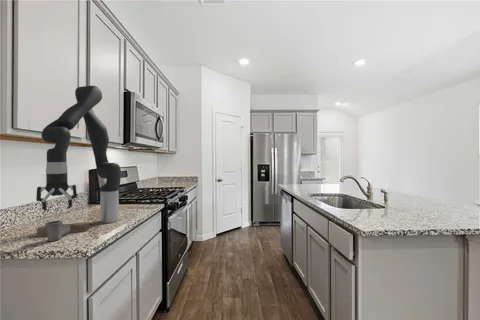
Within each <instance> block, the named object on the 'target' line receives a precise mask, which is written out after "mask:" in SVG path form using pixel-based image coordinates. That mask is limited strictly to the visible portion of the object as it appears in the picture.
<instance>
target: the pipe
mask: <svg viewBox="0 0 480 320" xmlns="http://www.w3.org/2000/svg"><path fill="white" fill-rule="evenodd" d="M62 225H63V220H53V221H48V222H45V223H44V226H46V229H47V235H48V236H47V240H48V242H55V241H59V240H60V239H62V237H64V236H65V235H67V234H70V233H69V232H70V226H68V225H66V226H64V227H62Z"/></svg>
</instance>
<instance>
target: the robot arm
mask: <svg viewBox="0 0 480 320" xmlns="http://www.w3.org/2000/svg"><path fill="white" fill-rule="evenodd" d="M74 93H75V99H76V102H77V103H75V104H73V105H71V106H70V107H68V108H67V109H65V111H64V112H62V113H61V115H59V117H58V118H57V119H54V120H53V121H51V123H48V125H46V126H45V127H44V128H43V129H42V131H41V138H42V140H43V141H44V142H45V143H49V144H55V145H54V147H52V148H49V149H47V150H46V164H45V165H46V167H45V175H46V176H45V178H46V185H45V186H38V187H36V201H37V202H40V203H41V209H42V210H43V211H44V212H45V211H48V201H47V200H48V198H49V197H51V196H52V197H56V196H65V197H66V198H67V199H68V200H67V201H68V203H67V204H68V206H67V207H68V209H71V207H73V200H74V199H76V198H78V193H77V185H76V184H72V185H71V184H70V185H69V184H68V183H69V182H68V181H69V180H68V164H67V152H68V149H69V145H70V142H71V132H70V131H72V130H73V129H74V128H75V127H76V126H77V124H78V123H79V122H80V121H81V119H82V118H83V120H84V124H85V127H86V131H87V134H88V138H89V141H90V144H91V148H92V152H93V156H94V162H95V166H96V167H95V168H96V172H97V175H98V177H99V178H101V179H104V180H105V181H106V182H105V183H104V184H103V185H101V186H100V194H99V195H100V197H99V198H100V203H99V205H100V212H99V216H100V223H102V224H107V223H109V224H110V223H116V222H118V221H119V211H120V210H119V205H120V203H119V199H120V198H119V197H120V196H119V192H120V191H119V189H120V186H121V175H122V174H121V173H122V170H121V166H120V165H119V163H117V162H109V160H108V156H107V155H108V154H107V151H108V145H109V142H110V141H109V140H110V137H109V133H108V130H107V127H106V126H105V124H104V123H103V121H101V119H99V117H98V116H97V115H96V113H95V112H94V110H93V108H95V106H97V105H98V104H100V102H101V100H102V99H103V93H102V90H101V89H100V87H98V86H97V85H84V86H77V87H76V88H75V91H74ZM69 189H70V190H71V191H72V194H73V195H70V193H69V192H68V190H69ZM44 191H46V192H47V194H45V196H44V197H42V193H43V192H44Z"/></svg>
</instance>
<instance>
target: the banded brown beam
mask: <svg viewBox="0 0 480 320" xmlns="http://www.w3.org/2000/svg"><path fill="white" fill-rule="evenodd" d="M66 225H68V226H70V232H69V233H68V234H70V233H71V234H73V233H80V232H88V231H89V230H90V229H89V228H90V223H89V221H84V222H75V223H74V222H73V223H65V224H63V223H62V227H64V226H66ZM46 235H47V229H46V226H45V225H44V226H38V227H37V228H36V237H38V238H39V237H47V236H46Z"/></svg>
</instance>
